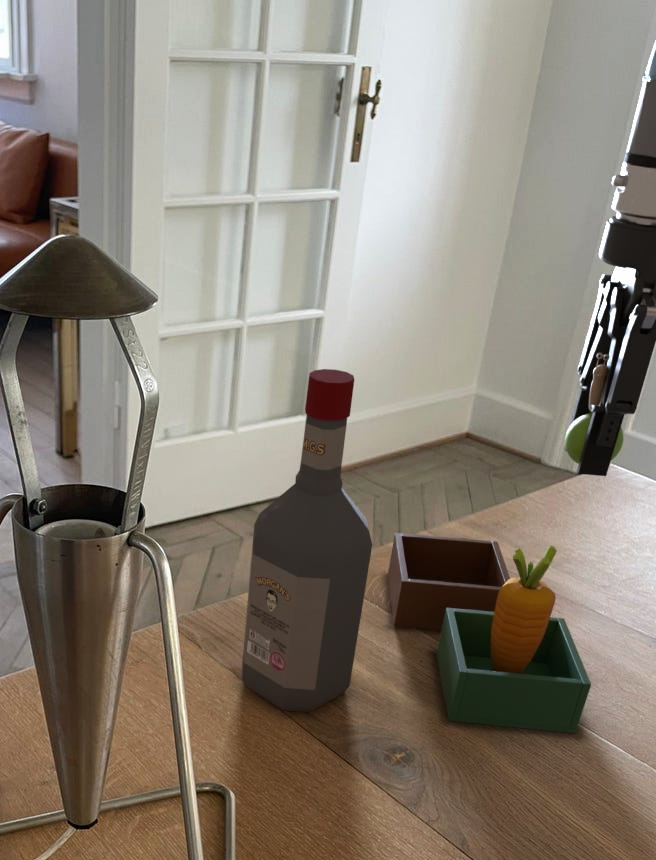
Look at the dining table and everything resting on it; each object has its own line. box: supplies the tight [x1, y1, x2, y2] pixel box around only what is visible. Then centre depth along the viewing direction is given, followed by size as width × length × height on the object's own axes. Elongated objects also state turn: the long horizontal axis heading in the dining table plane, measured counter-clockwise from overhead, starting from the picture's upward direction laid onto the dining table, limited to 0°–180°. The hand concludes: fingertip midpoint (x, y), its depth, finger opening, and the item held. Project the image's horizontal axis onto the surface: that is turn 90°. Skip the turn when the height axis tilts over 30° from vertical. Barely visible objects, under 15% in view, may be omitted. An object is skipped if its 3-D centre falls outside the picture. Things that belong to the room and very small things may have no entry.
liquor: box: [241, 368, 373, 713], centre depth 85 cm, size 9×9×30 cm
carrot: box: [491, 545, 558, 674], centre depth 89 cm, size 5×5×15 cm
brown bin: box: [387, 532, 511, 631], centre depth 106 cm, size 11×11×6 cm
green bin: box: [435, 608, 592, 734], centre depth 92 cm, size 11×11×6 cm
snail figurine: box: [564, 353, 624, 465], centre depth 96 cm, size 5×6×12 cm
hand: (584, 461), depth 99 cm, fingers closed on snail figurine, 5 cm apart
